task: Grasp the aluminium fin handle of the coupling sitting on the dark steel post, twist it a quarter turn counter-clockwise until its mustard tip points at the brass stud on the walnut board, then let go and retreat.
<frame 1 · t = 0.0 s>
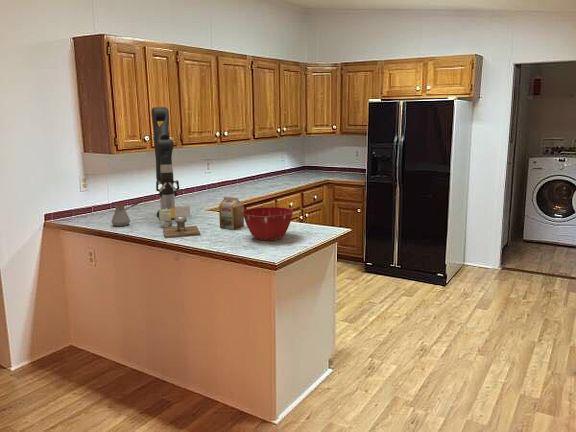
hand: (168, 197, 321), 17 cm above the table, tool pointing down, fingers open, 8 cm apart
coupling: (180, 214, 297), point 11 cm above the table, hinge at 0.0°
pneumatic valve: (167, 227, 315), on the table
mixing bowl: (268, 238, 285), on the table
coffee pot: (129, 224, 324), on the table
board: (181, 232, 299), on the table
milk carton: (232, 227, 311), on the table
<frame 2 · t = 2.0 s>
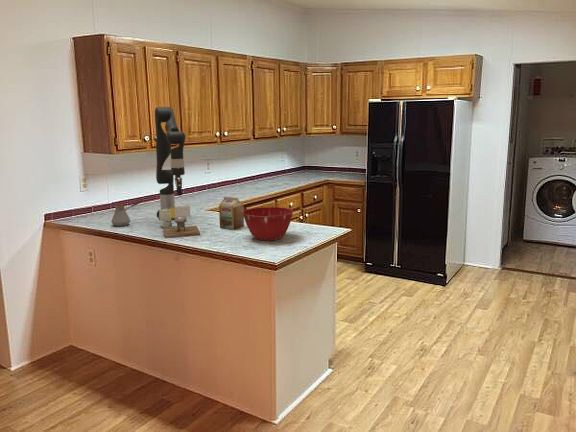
hand: (179, 194, 294), 23 cm above the table, tool pointing down, fingers open, 8 cm apart
nothing on the table moved.
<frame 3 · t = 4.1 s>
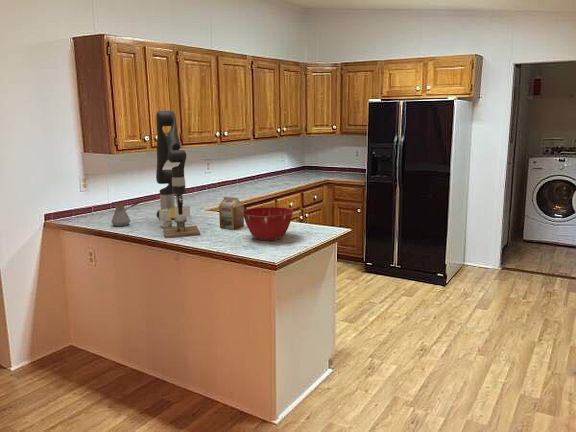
hand: (180, 213, 297), 12 cm above the table, tool pointing down, fingers closed on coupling, 3 cm apart
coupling: (180, 214, 297), point 11 cm above the table, hinge at 0.0°, touching gripper
everything else where it was.
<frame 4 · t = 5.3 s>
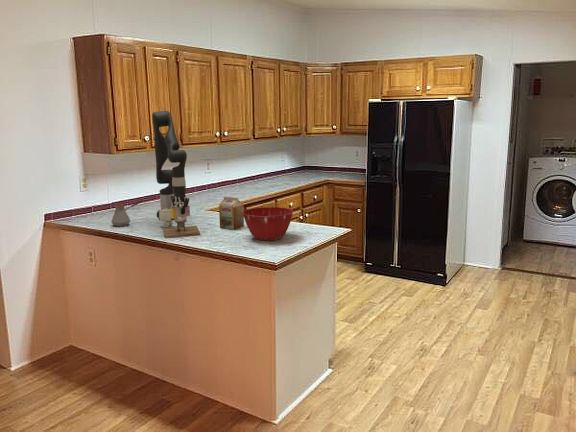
hand: (180, 213, 297), 12 cm above the table, tool pointing down, fingers closed on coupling, 3 cm apart
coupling: (180, 214, 297), point 11 cm above the table, hinge at 23.9°, touching gripper
everything else where it was.
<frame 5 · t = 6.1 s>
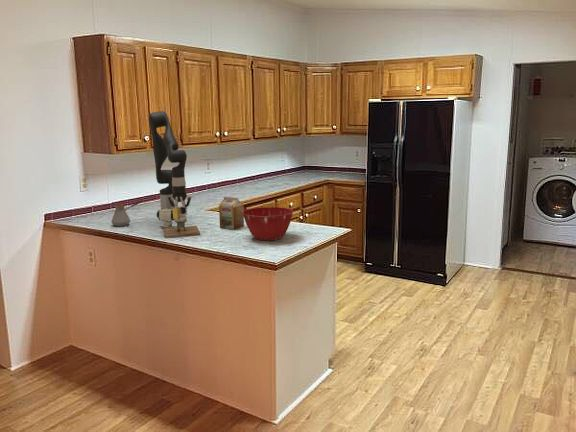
hand: (180, 213, 297), 12 cm above the table, tool pointing down, fingers closed on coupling, 3 cm apart
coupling: (180, 214, 297), point 11 cm above the table, hinge at 54.3°, touching gripper
everything else where it was.
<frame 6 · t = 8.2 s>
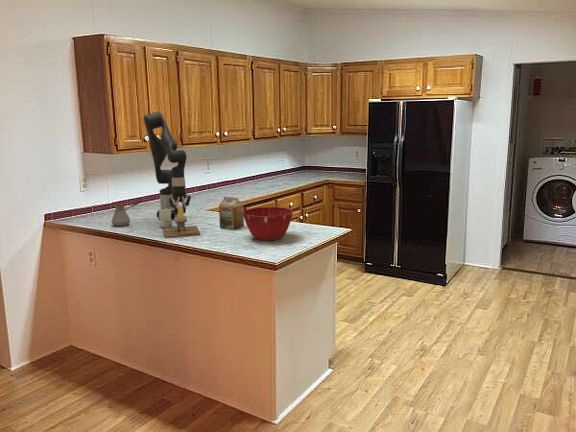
hand: (180, 213, 297), 12 cm above the table, tool pointing down, fingers open, 4 cm apart
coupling: (180, 214, 297), point 11 cm above the table, hinge at 88.4°
everything else where it was.
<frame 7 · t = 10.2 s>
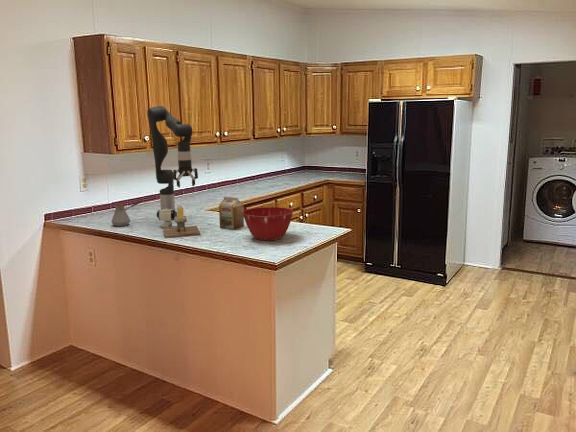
hand: (186, 186, 298), 27 cm above the table, tool pointing down, fingers open, 8 cm apart
nothing on the table moved.
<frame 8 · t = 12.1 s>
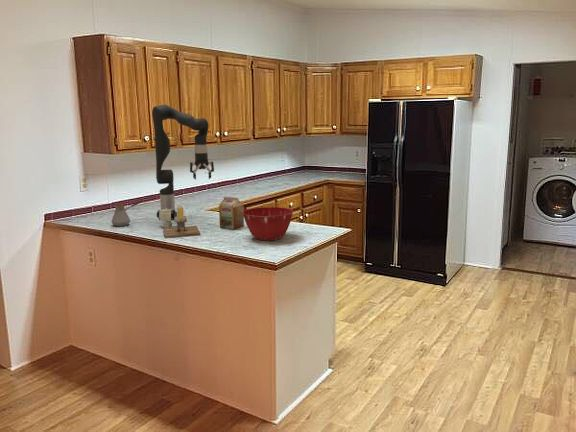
hand: (202, 179, 306), 30 cm above the table, tool pointing down, fingers open, 8 cm apart
nothing on the table moved.
at the end: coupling at +89° (first picture: +0°); the gripper is holding nothing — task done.
